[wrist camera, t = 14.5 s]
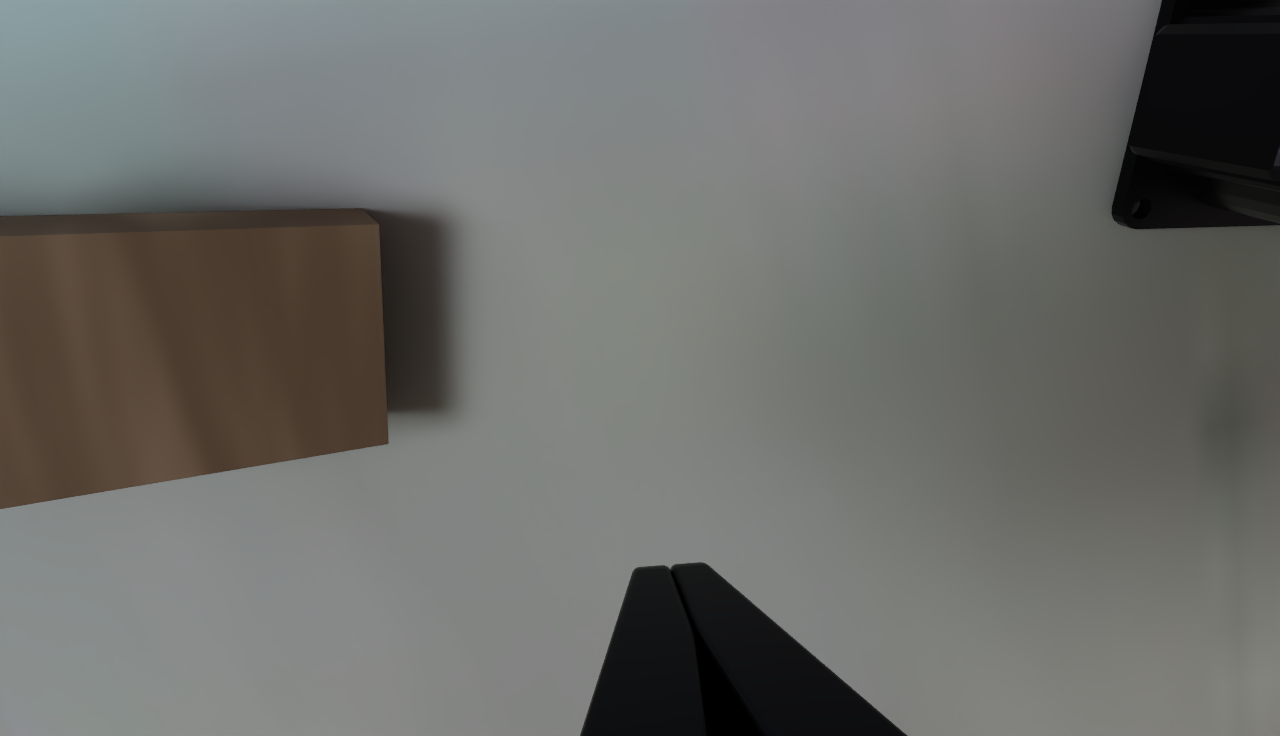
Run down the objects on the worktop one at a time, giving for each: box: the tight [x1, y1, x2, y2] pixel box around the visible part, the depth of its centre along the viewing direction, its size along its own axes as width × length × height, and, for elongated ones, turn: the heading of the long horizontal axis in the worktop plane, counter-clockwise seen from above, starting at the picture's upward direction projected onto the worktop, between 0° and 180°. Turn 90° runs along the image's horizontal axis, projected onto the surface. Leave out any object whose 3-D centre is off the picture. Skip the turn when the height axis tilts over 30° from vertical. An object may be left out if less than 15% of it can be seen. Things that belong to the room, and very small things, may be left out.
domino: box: [0, 208, 388, 509], centre depth 15 cm, size 2×5×8 cm
